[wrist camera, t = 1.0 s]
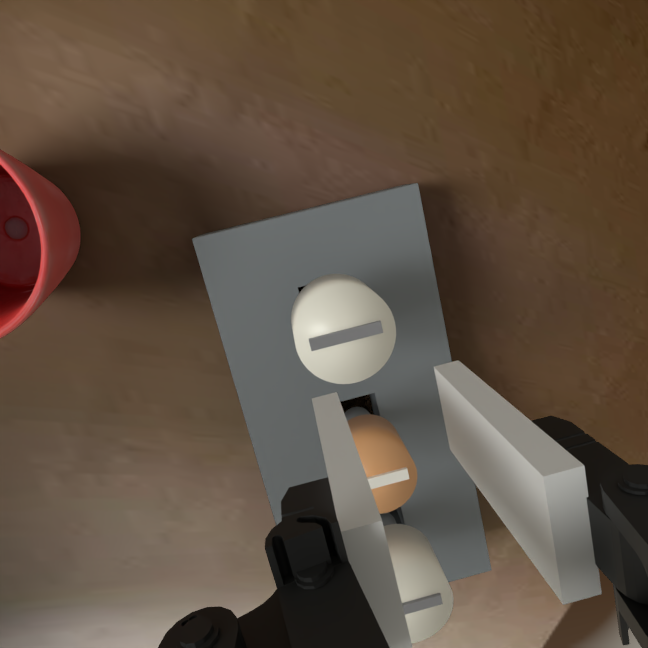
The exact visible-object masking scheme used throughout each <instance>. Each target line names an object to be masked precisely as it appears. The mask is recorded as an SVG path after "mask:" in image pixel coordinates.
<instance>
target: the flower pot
mask: <svg viewBox="0 0 648 648" xmlns="http://www.w3.org/2000/svg"><path fill="white" fill-rule="evenodd" d="M80 240H81V232H80V226H79V221H78V218H77V215H76V212H75V210H74V208H73V206H72V204H71V203H70V201H69V200H68V199H67V197H66V196H65V195H64V193H63V192H62V191H61V190H60V189H59V188H58V187H56V186H55V185H54V184H53V183H52V182H50V181H49V180H47V179H46V178H44V177H43V176H41V175H40V174H38V173H37V172H36V171H34V170H33V169H31V168H30V167H28V166H27V165H25V164H23V163H22V162H20V161H19V160H17V159H15V158H14V157H12V156H10V155H9V154H7V153H5V152H4V151H2V150H0V338H2V337H4V336H6V335H7V334H9V333H11V332H12V331H13V330H15V329H16V328H17V327H19V326H20V325H21V324H22V323H23V322H24V321H25V320H26V319H27V318H29V317H30V316H31V315H32V314H33V313H34V311H35V310H36V309H37V308H38V307H39V306H40V305H41V304H42V303H43V302H44V301H45V299H46V298H47V297H48V296H49V295H50V294H51V293H52V292H53V290H54V289H55V288H56V287H57V286H58V284H59V283H60V282H61V281H62V279H63V278H64V277H65V275H66V274H67V272H68V271H69V270H70V268H71V267H72V266H73V264H74V262H75V260H76V258H77V255H78V252H79V248H80Z"/></svg>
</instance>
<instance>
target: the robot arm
mask: <svg viewBox="0 0 648 648" xmlns="http://www.w3.org/2000/svg"><path fill="white" fill-rule="evenodd" d="M434 371H435V376H436V381H437V386H438V391H439V396H440V401H441V406H442V411H443V416H444V422H445V427H446V432H447V437H448V442H449V447H450V450H451V451H452V453H453V454H454V456H455V457H456V458H457V460H458V461H459V462H460V464H461V465H462V467H463V468H464V469H465V471H466V472H467V473H468V475H469V476H470V478H471V479H472V480H473V482H474V483H475V484H476V486H477V487H478V488H479V490H480V491H481V493H482V494H483V495H484V497H485V498H486V499H487V501H488V502H489V504H490V505H491V506H492V508H493V509H494V510H495V512H496V513H497V515H498V516H499V517H500V519H501V520H502V521H503V523H504V524H505V525H506V527H507V528H508V530H509V531H510V532H511V534H512V535H513V536H514V538H515V539H516V541H517V542H518V543H519V545H520V546H521V547H522V549H523V550H524V551H525V553H526V554H527V556H528V557H529V558H530V560H531V561H532V562H533V564H534V565H535V567H536V568H537V569H538V571H539V572H540V573H541V575H542V576H543V578H544V579H545V580H546V582H547V583H548V584H549V586H550V587H551V588H552V590H553V591H554V593H555V594H556V595H557V597H558V598H559V599H560V601H561V602H562V604H563V605H564V604H568V603H571V602H575V601H578V600H582V599H585V598H589V597H592V596H596V595H600V594H601V593H602V592H601V585H600V577H599V571H598V568H599V569H600V570H601V571H602V572H603V573H604V574H605V575H606V576H607V578H608V579H609V580H610V581H611V582H612V583H613V587H614V594H615V603H616V611H617V618H618V625H619V634H620V637H621V640H622V643H623V645H627V644H629V636H628V629H629V628H630V629H631V631H632V633H633V634H634V636H635V637H636V639H637V641H638V642H639V644H640V645H641V647H642V648H648V465H640V464H636V465H629V464H628V463H626V462H625V461H624V460H622V459H621V458H620V457H618V456H617V455H615V454H614V453H613V452H611V451H610V450H609V449H607V448H606V447H604V446H603V445H602V444H600V443H599V442H596V441H595V439H593V438H592V437H591V436H589V435H588V434H585V433H584V431H582V430H581V429H580V428H578V427H577V426H576V425H574V424H573V423H571V422H569V421H566V420H563V419H560V418H557V417H554V416H548V417H544V418H541V419H537V420H533V421H531V420H529V419H528V418H527V417H526V416H525V415H523V414H522V413H521V412H520V411H519V410H517V409H516V408H515V407H514V406H513V405H511V404H510V403H509V402H508V401H507V400H505V399H504V398H503V397H502V396H501V395H499V394H498V393H497V392H496V391H495V390H493V389H492V388H491V387H490V386H489V385H487V384H486V383H485V382H484V381H483V380H481V379H480V378H479V377H478V376H477V375H475V374H474V373H473V372H472V371H471V370H469V369H468V368H467V367H466V366H465V365H463V364H462V363H461V362H460V361H459V360H457V361H453V362H450V363H446V364H442V365H438V366H434ZM312 403H313V408H314V412H315V417H316V422H317V427H318V431H319V436H320V441H321V446H322V450H323V455H324V460H325V465H326V469H327V474H328V477H326V478H323V479H319V480H315V481H311V482H308V483H304V484H300V485H297V486H293V487H289V488H288V490H287V492H286V493H285V495H284V497H283V499H282V500H281V516H282V518H281V519H282V521H281V522H280V523H279V524H278V525H276V526H275V527H274V528H273V529H272V530H271V531H270V533H269V534H268V536H267V537H266V541H265V550H266V553H267V557H268V560H269V563H270V567H271V570H272V573H273V577H274V580H275V583H276V586H277V590H276V591H275V592H274V594H273V595H272V596H271V597H270V598H269V599H268V600H267V601H266V602H264V603H263V604H262V605H260V606H259V607H257V608H256V609H254V610H252V611H250V612H249V613H247V614H245V615H243V616H241V617H239V618H238V619H237V617H236V616H235V615H234V614H233V612H232V611H231V610H229V609H226V608H223V607H206V608H203V609H200V610H198V611H195V612H192V613H190V614H189V615H187V616H186V617H184V618H182V619H181V620H179V621H178V622H177V623H176V624H175V625H174V626H173V627H172V628H171V629H170V630H169V631H168V632H167V633H166V634H165V636H164V638H163V640H162V641H161V643H160V645H159V647H158V648H412V643H411V639H410V634H409V630H408V626H407V622H406V618H405V614H404V609H403V605H402V601H401V597H400V593H399V589H398V585H397V580H396V576H395V572H394V568H393V564H392V560H391V555H390V551H389V547H388V543H387V539H386V535H385V530H384V526H383V522H382V519H381V516H380V513H379V510H378V507H377V505H376V502H375V499H374V496H373V493H372V490H371V488H370V485H369V482H368V479H367V476H366V473H365V471H364V468H363V465H362V462H361V459H360V456H359V454H358V451H357V448H356V445H355V442H354V439H353V437H352V434H351V431H350V428H349V425H348V422H347V420H346V417H345V414H344V411H343V408H342V405H341V402H340V400H339V397H338V394H337V392H335V393H331V394H327V395H323V396H320V397H316V398H312Z"/></svg>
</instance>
